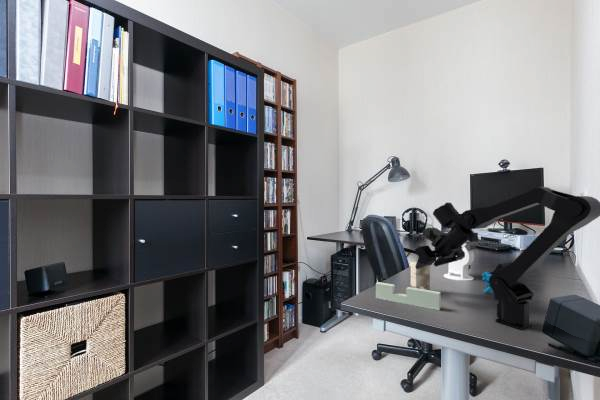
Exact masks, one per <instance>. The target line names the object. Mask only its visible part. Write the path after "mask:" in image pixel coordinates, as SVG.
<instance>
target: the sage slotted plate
mask: <svg viewBox="0 0 600 400" xmlns="http://www.w3.org/2000/svg"><path fill="white" fill-rule="evenodd" d="M395 287H396V286H395V284H392V283H386V282H379V281H377V282H376V283H375V299H379V300H384V301H389V302H394V303H398V304H404V305H409V306H415V307H421V308H425V309H430V310H431V309H432V310H436V311H440V310H441V301H442V300H441V298H442V297H441V296H442V295H441V291H436V290H431V289H430V290H424V289H422V288H419V289H418V288H412V287H411V286H408V287H406V289H405V293H400V292H396V291H395V290H396V289H395Z"/></svg>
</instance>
